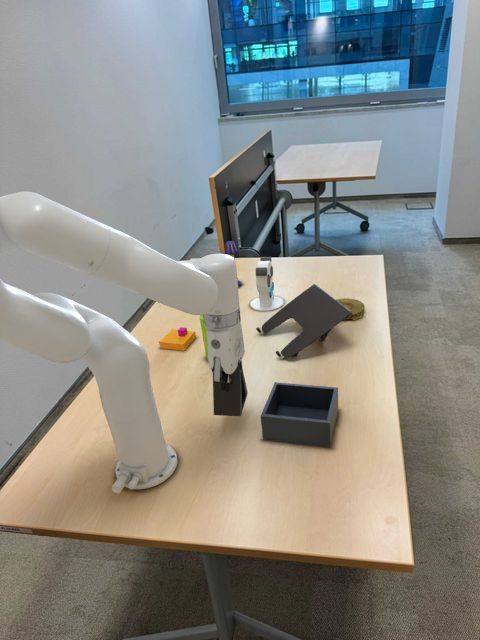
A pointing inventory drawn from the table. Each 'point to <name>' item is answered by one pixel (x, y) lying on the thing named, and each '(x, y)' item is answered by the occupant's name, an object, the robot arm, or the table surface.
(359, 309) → the compass
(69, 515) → the table surface
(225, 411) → the phone stand
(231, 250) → the toy lamp
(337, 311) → the laptop tray
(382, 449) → the table surface
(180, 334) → the orange tile with knob
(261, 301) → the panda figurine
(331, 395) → the tote
